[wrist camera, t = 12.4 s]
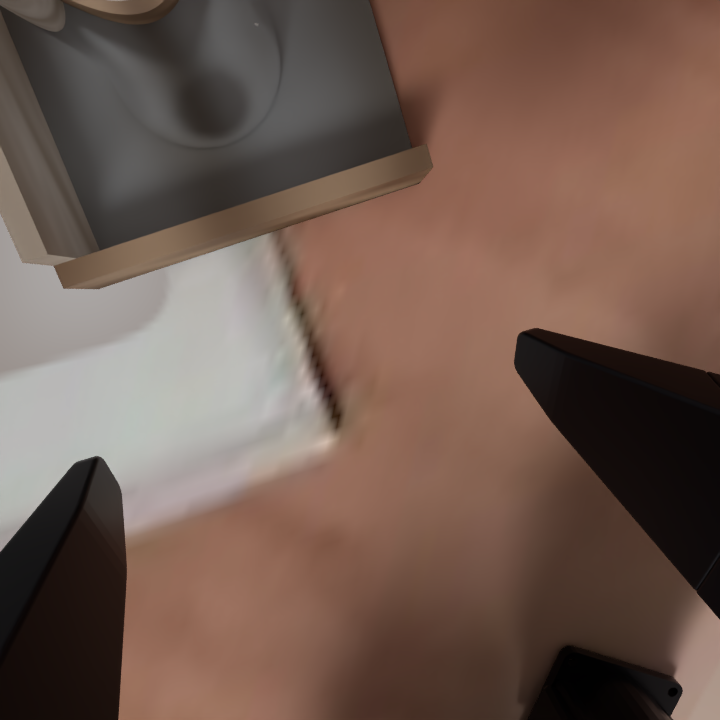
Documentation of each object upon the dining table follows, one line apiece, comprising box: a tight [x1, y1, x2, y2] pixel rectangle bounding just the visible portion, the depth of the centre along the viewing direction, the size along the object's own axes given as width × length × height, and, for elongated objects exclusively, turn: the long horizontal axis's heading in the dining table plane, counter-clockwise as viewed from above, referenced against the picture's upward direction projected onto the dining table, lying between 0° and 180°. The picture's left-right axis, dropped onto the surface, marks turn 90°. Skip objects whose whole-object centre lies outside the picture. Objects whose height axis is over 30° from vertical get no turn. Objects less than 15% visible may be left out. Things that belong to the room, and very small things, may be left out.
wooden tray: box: [0, 0, 433, 289], centre depth 15 cm, size 13×13×4 cm
